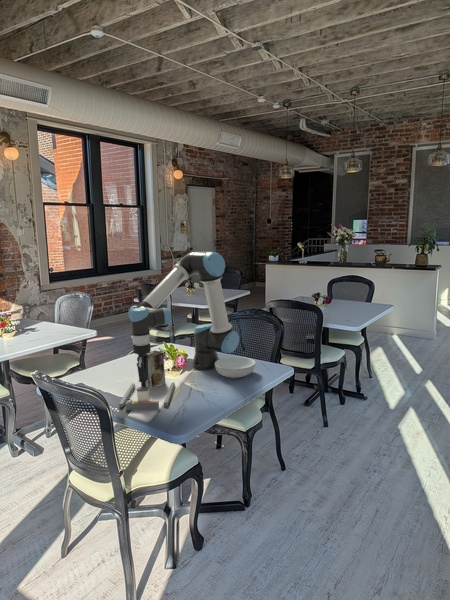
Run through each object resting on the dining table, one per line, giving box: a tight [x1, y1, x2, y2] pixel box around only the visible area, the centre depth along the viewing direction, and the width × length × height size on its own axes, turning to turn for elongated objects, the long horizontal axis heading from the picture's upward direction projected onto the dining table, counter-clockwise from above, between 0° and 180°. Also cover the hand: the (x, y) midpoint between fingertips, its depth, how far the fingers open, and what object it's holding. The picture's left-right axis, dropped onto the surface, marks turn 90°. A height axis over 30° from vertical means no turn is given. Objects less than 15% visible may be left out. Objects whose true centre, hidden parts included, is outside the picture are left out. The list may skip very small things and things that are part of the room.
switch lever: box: [136, 386, 151, 402], centre depth 191 cm, size 5×4×8 cm
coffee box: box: [147, 350, 166, 389], centre depth 216 cm, size 9×6×16 cm
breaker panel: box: [118, 382, 176, 411], centre depth 201 cm, size 21×26×4 cm
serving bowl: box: [215, 356, 256, 379], centre depth 226 cm, size 21×21×7 cm
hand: (145, 394), depth 195 cm, fingers closed
